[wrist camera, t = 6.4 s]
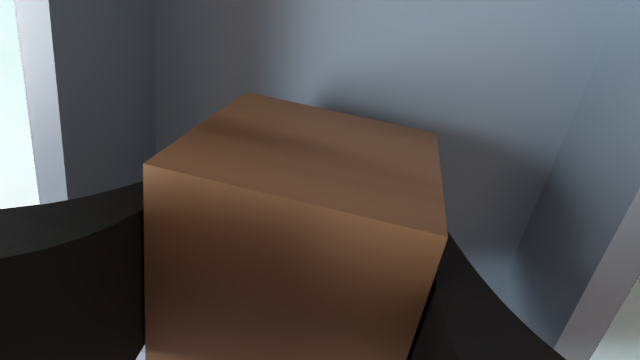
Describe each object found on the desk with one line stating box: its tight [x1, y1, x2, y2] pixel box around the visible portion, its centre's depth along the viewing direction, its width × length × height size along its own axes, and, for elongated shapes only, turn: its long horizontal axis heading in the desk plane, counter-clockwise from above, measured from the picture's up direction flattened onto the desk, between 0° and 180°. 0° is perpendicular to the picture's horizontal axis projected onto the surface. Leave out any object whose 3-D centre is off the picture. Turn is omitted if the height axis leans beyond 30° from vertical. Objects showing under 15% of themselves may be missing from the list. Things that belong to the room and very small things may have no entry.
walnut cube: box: [143, 92, 448, 360], centre depth 11 cm, size 5×5×5 cm
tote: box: [14, 0, 640, 360], centre depth 11 cm, size 18×14×5 cm
